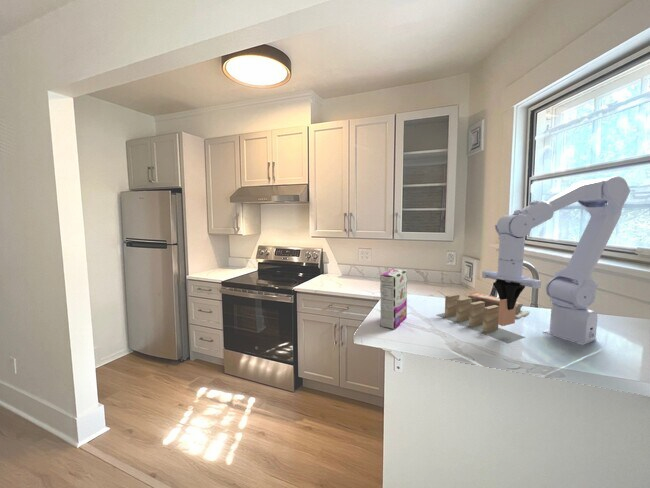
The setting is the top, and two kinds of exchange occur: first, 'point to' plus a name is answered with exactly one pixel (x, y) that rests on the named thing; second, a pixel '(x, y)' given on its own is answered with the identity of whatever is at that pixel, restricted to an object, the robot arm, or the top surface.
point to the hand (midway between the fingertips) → (507, 308)
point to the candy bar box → (393, 298)
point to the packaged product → (497, 303)
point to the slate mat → (498, 334)
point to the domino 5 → (506, 314)
